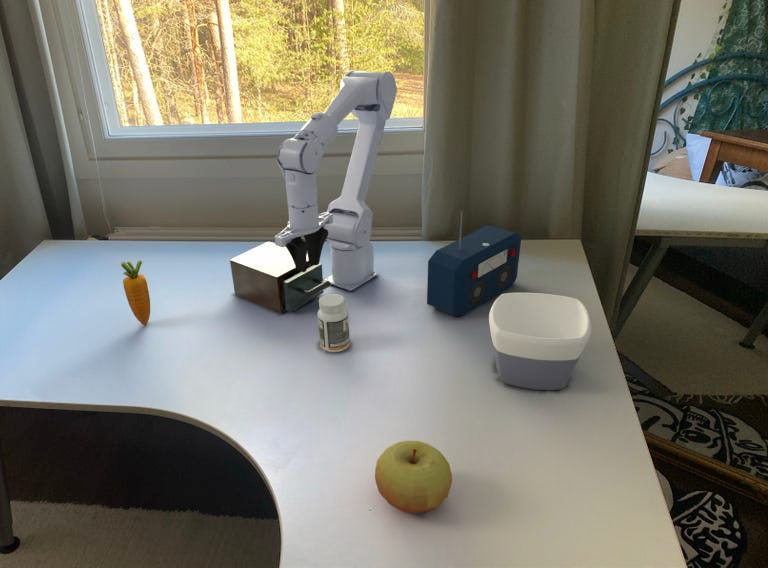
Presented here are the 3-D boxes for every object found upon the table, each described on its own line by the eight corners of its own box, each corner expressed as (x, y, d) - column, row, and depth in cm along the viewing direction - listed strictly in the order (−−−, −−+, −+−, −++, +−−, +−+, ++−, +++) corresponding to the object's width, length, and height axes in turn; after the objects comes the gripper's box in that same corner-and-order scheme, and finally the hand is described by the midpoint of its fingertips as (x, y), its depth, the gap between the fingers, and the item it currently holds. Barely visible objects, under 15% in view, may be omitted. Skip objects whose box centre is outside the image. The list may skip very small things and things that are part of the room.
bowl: (583, 404, 97) (595, 344, 92) (481, 392, 102) (486, 334, 97) (578, 350, 110) (589, 295, 104) (487, 341, 115) (492, 288, 109)
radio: (458, 323, 121) (464, 226, 110) (423, 308, 127) (425, 215, 117) (522, 285, 131) (532, 193, 121) (486, 273, 137) (494, 184, 127)
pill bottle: (354, 339, 119) (352, 294, 114) (343, 355, 115) (341, 309, 110) (326, 335, 121) (323, 290, 116) (315, 350, 117) (311, 304, 112)
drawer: (338, 298, 132) (337, 269, 128) (305, 318, 126) (302, 288, 122) (279, 276, 143) (276, 249, 139) (246, 294, 137) (242, 266, 133)
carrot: (159, 318, 133) (145, 254, 125) (153, 331, 129) (137, 265, 121) (137, 319, 134) (121, 255, 126) (130, 331, 129) (113, 266, 122)
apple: (436, 466, 89) (438, 422, 85) (460, 518, 81) (464, 473, 77) (368, 476, 88) (367, 433, 84) (386, 530, 80) (385, 485, 76)
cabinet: (318, 292, 137) (315, 256, 132) (280, 314, 130) (276, 277, 126) (272, 275, 146) (268, 241, 141) (234, 294, 139) (229, 259, 135)
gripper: (312, 188, 126) (317, 249, 133) (260, 210, 118) (268, 275, 125) (339, 194, 122) (342, 257, 129) (287, 218, 113) (293, 284, 120)
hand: (307, 267), depth 126 cm, fingers open, 3 cm apart
